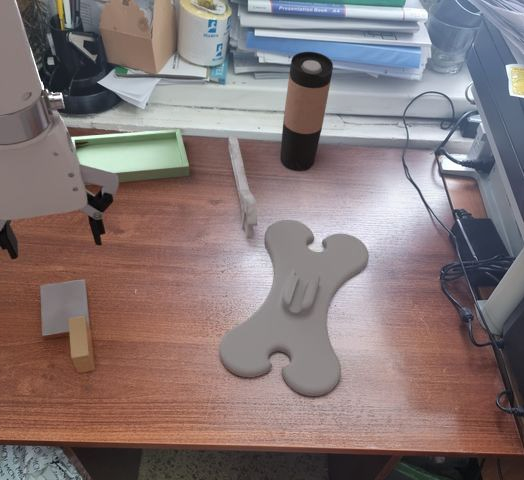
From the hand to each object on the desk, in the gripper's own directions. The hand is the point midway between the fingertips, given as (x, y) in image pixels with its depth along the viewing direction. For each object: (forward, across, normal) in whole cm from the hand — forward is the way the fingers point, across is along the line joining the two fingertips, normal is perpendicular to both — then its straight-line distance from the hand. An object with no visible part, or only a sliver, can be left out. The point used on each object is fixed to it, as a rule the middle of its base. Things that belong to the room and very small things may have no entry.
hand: (57, 243), depth 61 cm
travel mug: (+21, -45, -35) cm, 61 cm away
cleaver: (+20, +4, -3) cm, 21 cm away
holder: (+21, -34, +1) cm, 39 cm away
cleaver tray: (+20, -12, -41) cm, 47 cm away
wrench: (+21, -31, -27) cm, 46 cm away
